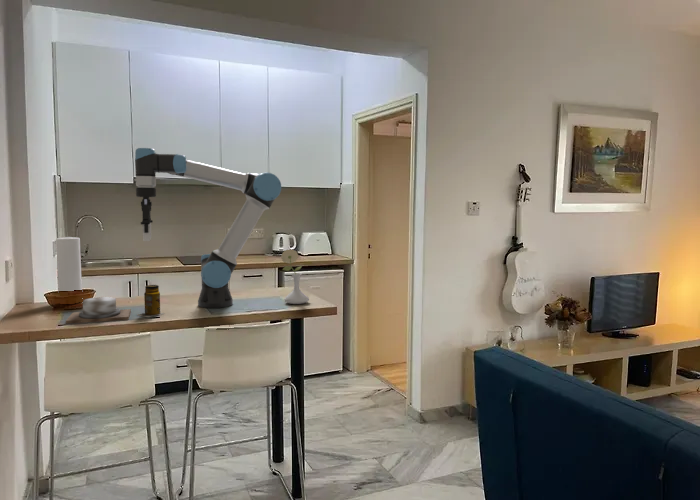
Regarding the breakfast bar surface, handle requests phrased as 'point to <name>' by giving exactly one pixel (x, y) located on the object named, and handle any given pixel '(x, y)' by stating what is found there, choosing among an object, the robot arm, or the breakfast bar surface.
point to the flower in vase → (296, 294)
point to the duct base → (80, 320)
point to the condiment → (151, 301)
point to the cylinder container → (69, 264)
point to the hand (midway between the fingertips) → (147, 239)
